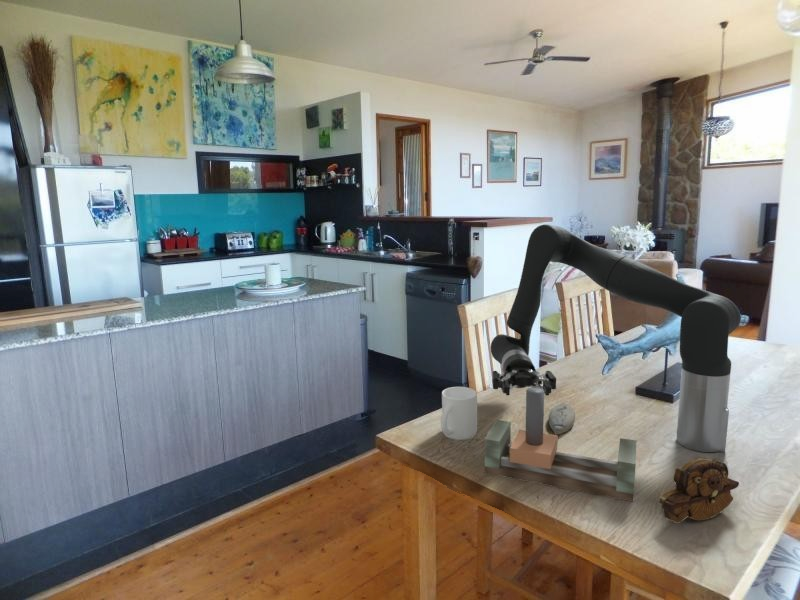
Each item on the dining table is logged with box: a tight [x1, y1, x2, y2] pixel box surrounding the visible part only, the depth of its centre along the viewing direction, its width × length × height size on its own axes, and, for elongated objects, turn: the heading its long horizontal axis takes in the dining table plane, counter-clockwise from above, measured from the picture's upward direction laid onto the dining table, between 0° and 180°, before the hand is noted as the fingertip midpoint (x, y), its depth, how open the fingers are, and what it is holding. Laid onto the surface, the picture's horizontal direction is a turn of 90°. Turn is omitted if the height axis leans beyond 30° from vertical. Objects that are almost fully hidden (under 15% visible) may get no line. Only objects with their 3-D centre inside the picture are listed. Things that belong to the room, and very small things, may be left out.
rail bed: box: [484, 419, 637, 502], centre depth 106 cm, size 28×10×8 cm, turn 65°
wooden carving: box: [658, 457, 740, 524], centre depth 90 cm, size 16×5×10 cm, turn 115°
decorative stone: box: [548, 402, 576, 435], centre depth 130 cm, size 6×16×3 cm, turn 158°
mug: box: [440, 386, 478, 441], centre depth 124 cm, size 12×8×10 cm
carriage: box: [510, 387, 558, 469], centre depth 107 cm, size 8×9×14 cm
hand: (527, 391), depth 115 cm, fingers open, 8 cm apart
